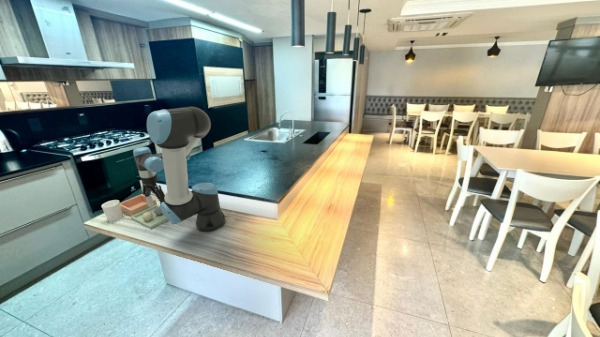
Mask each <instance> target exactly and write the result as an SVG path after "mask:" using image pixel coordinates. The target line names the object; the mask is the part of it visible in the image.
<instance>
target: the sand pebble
mask: <svg viewBox="0 0 600 337" xmlns="http://www.w3.org/2000/svg"><path fill="white" fill-rule="evenodd" d="M152 217H153V214H152V213H151V212H145V213H144V214H143V215H142V219H143V220H145V221H149V220H151V219H152Z"/></svg>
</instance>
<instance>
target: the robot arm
mask: <svg viewBox="0 0 600 337" xmlns="http://www.w3.org/2000/svg"><path fill="white" fill-rule="evenodd" d="M211 126H212V124H211V119H210V117H209V115H208V114H207V113H206V112H205V111H204V110H202V109H201V108H199V107H195V106H185V107H179V108H178V107H177V108H169V109H164V108H163V109H160V110H154V111H152V112H151V113H149V114H148V116H147V119H146V130H147V133H148V137H149V139H150V141H151V142H152V143H153V144H155V145H156V146H157V148H160V150H161V152H160V153H155V154H152V151H151V149H150V147H148V146H141V147H137V148H134V149H132V150H133V151H132V153H133V158H134V162H135V164H136V167H137V169H138V170H137V171H138V174H139V177H140V179H141V180H140V181H141V184H142V193H141V194H143V195H145V197H146V200H147V203H148V206H149V207H151V206H153V205H154V203H153V200H152V198H153V196H152V194H154V195H155V197H156V198H157V200H158V201H159V206H160V208H161V210H162V213H163V214H164V216H165V217H166V219H167V220H168V221H167V222H169V223H170V224H172V225H177V224H179V223H182V222H184V221H186V220H188V219H190V218H192V217H194V216H195V215H196V221H195V226H196V229H197V230H198V231H200V232H205V233H206V232H213V231H216V230H219V229H220V228H222V227H223V226H224V225H225V224H226V221H227V220H226V219H227V218H226V215H225V214H224V212H223V211H222V209H221V204H220V198H219V192H218V187H217V186H216V184H214V183H211V182H199V183H195V184H194V185H192V186H191V190H190V189H189V177H188V165H187V161H189V160H190V159H191V152H192V150H193V149H194V147H195V146H196V145H197V144H198V143H199V141H200V140H201V139H203V138H205V137H206V136H207V135H208V133H209V132H210V130H211ZM162 170H164V177H165V184H166V190H167V192H166V193H164V191H163V188H162V186H161V185H160V184H159V185H158V184H157V182H158V181H159V177H158V174H157V173H159V172H161V171H162Z"/></svg>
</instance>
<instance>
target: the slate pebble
mask: <svg viewBox="0 0 600 337" xmlns="http://www.w3.org/2000/svg"><path fill="white" fill-rule="evenodd" d="M154 213H155V214H156V215H161V214H162V210H161V208H160V205H158V207H156V208H155V209H154Z"/></svg>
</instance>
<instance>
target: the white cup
mask: <svg viewBox="0 0 600 337" xmlns="http://www.w3.org/2000/svg"><path fill="white" fill-rule="evenodd" d="M120 203H121V202H120V200H118V199H113V200H108V201H106V202H104V203H102V204H101V208H102V210H103V213H104V215H105V216H106V218H107V221H108V222H117V221H119V220H122V218H123V217H124V215H123V214H124V213H122V209H121V206H120Z"/></svg>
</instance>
